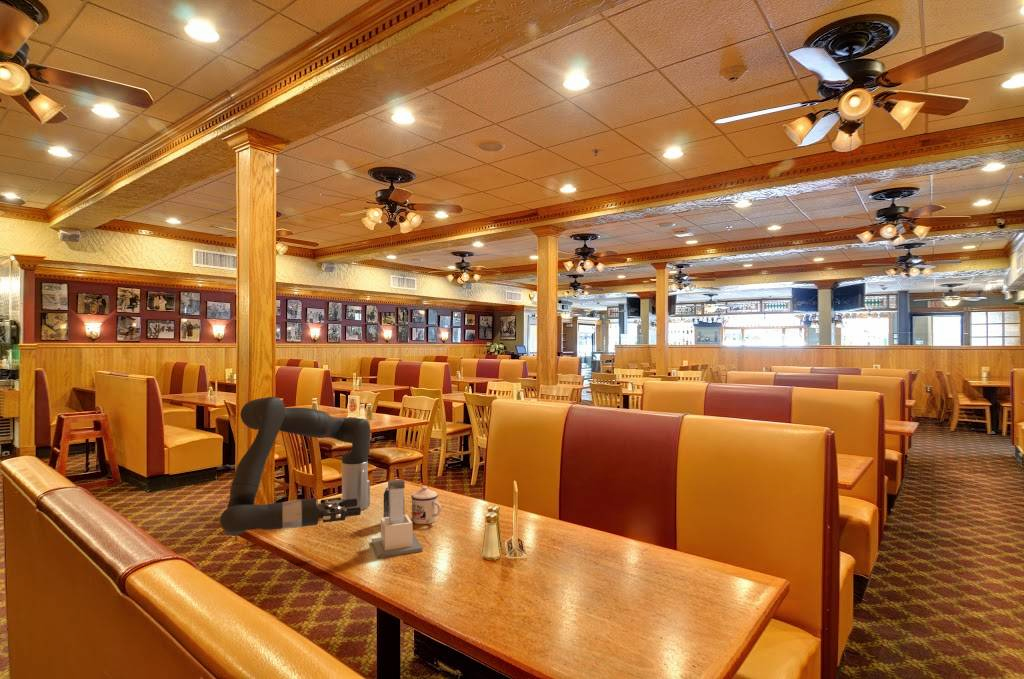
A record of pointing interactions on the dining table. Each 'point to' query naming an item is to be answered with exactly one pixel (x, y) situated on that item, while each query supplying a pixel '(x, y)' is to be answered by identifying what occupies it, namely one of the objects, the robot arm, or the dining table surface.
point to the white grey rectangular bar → (396, 501)
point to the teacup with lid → (425, 506)
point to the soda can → (386, 502)
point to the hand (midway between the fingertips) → (358, 506)
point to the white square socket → (396, 539)
